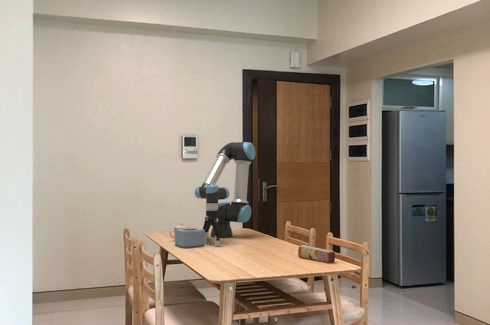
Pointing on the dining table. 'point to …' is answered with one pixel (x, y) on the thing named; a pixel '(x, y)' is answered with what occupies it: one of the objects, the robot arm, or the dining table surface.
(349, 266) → the dining table surface
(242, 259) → the dining table surface
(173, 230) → the teacup with lid
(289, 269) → the dining table surface
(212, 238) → the rectangular block
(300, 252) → the snack package
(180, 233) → the grey box with opening
